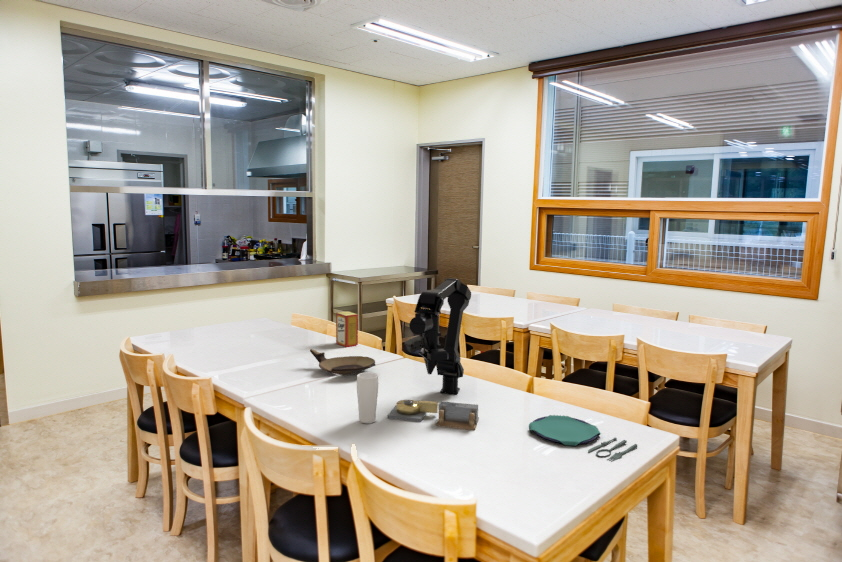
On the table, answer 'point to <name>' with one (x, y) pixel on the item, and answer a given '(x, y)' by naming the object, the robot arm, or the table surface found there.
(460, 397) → the table surface
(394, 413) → the nut base
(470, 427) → the peg rack
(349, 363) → the frying pan
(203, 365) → the table surface
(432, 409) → the gold low rounded piece
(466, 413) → the bar
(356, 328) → the baking soda box
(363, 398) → the drinking glass
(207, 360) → the table surface
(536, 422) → the cutlery set
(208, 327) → the table surface
